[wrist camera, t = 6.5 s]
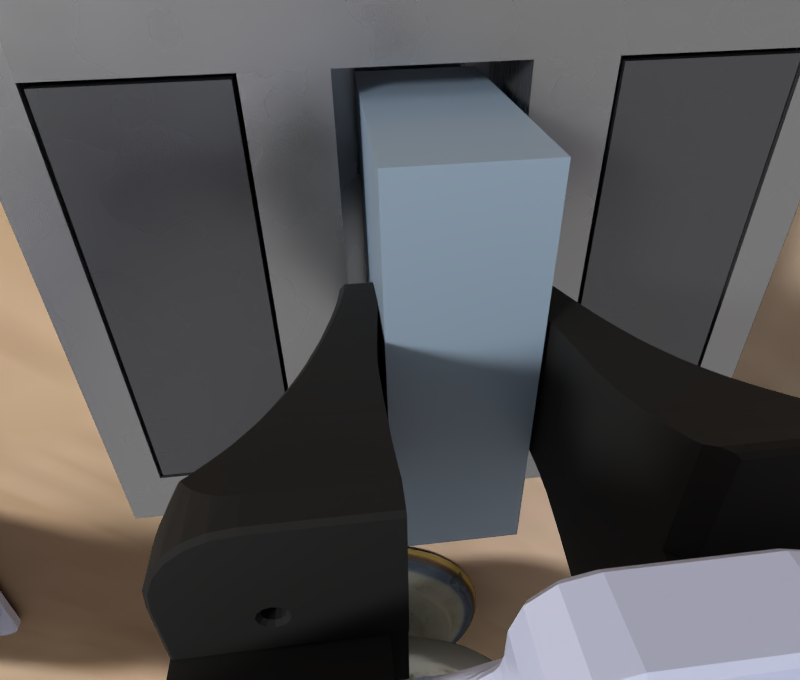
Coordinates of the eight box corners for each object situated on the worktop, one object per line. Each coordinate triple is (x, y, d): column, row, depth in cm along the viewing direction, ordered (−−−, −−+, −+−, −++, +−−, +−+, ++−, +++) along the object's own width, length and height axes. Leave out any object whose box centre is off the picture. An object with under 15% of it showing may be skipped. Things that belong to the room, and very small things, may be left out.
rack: (638, 383, 21) (700, 474, 18) (168, 426, 20) (137, 534, 16) (757, -59, 14) (904, -48, 10) (15, -36, 12) (-100, -15, 9)
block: (460, 362, 18) (516, 534, 13) (371, 369, 17) (393, 547, 13) (475, 65, 13) (571, 157, 8) (354, 71, 13) (377, 168, 8)
